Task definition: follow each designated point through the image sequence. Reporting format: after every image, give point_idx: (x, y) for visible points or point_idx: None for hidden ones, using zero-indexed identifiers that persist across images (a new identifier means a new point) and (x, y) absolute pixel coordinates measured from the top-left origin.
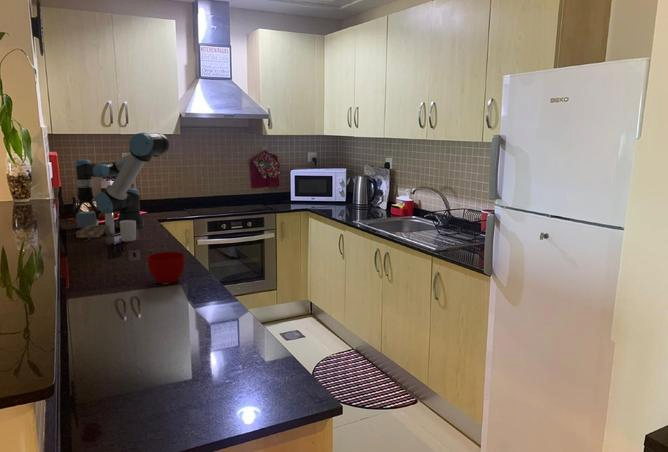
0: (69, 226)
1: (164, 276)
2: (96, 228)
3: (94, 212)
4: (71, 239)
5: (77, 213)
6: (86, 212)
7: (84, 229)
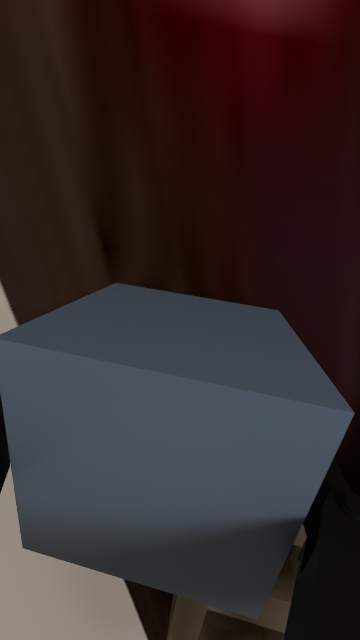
0: (4, 219)
1: None
2: (276, 618)
3: (283, 532)
4: (158, 620)
5: (30, 528)
6: (134, 485)
7: (200, 613)
